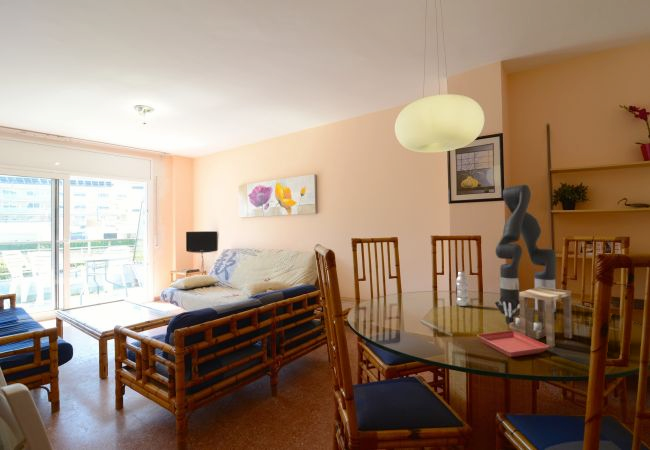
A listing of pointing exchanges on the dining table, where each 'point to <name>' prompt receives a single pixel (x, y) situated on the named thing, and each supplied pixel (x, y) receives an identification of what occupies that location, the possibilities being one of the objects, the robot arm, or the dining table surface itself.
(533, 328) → the caddy
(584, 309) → the dining table surface
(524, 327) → the stool
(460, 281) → the plastic bottle
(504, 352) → the plant saucer
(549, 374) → the dining table surface
